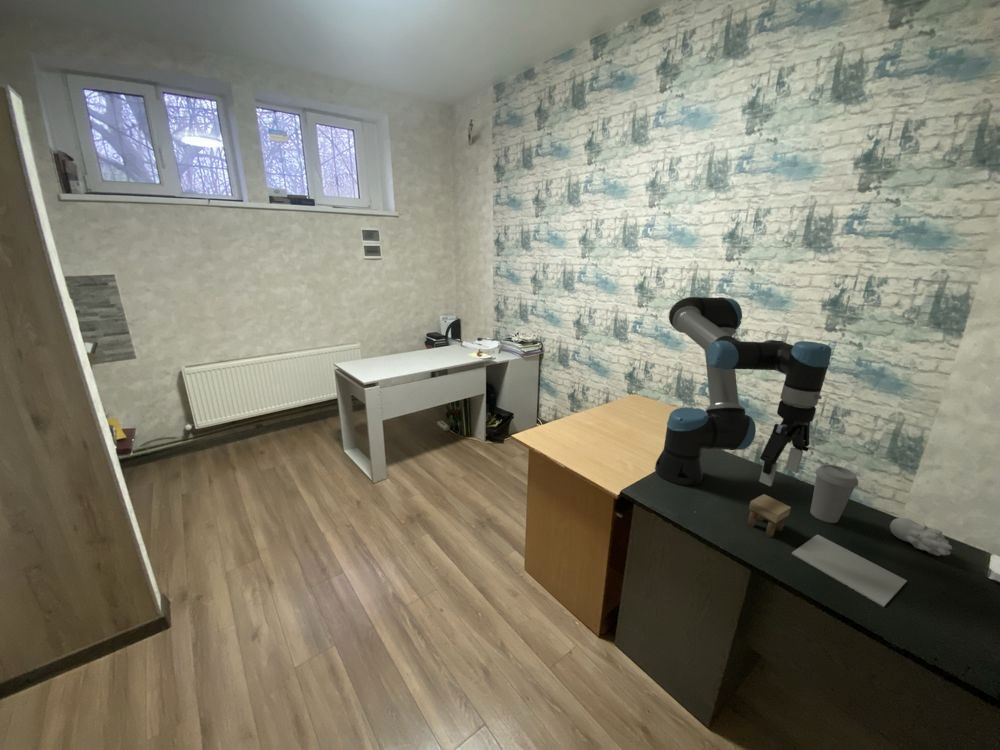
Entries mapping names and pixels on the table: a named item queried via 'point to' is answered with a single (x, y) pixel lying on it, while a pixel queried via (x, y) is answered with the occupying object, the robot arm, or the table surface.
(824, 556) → the mat
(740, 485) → the table surface
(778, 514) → the wooden stool
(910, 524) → the figurine
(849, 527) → the table surface
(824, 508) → the coffee cup
